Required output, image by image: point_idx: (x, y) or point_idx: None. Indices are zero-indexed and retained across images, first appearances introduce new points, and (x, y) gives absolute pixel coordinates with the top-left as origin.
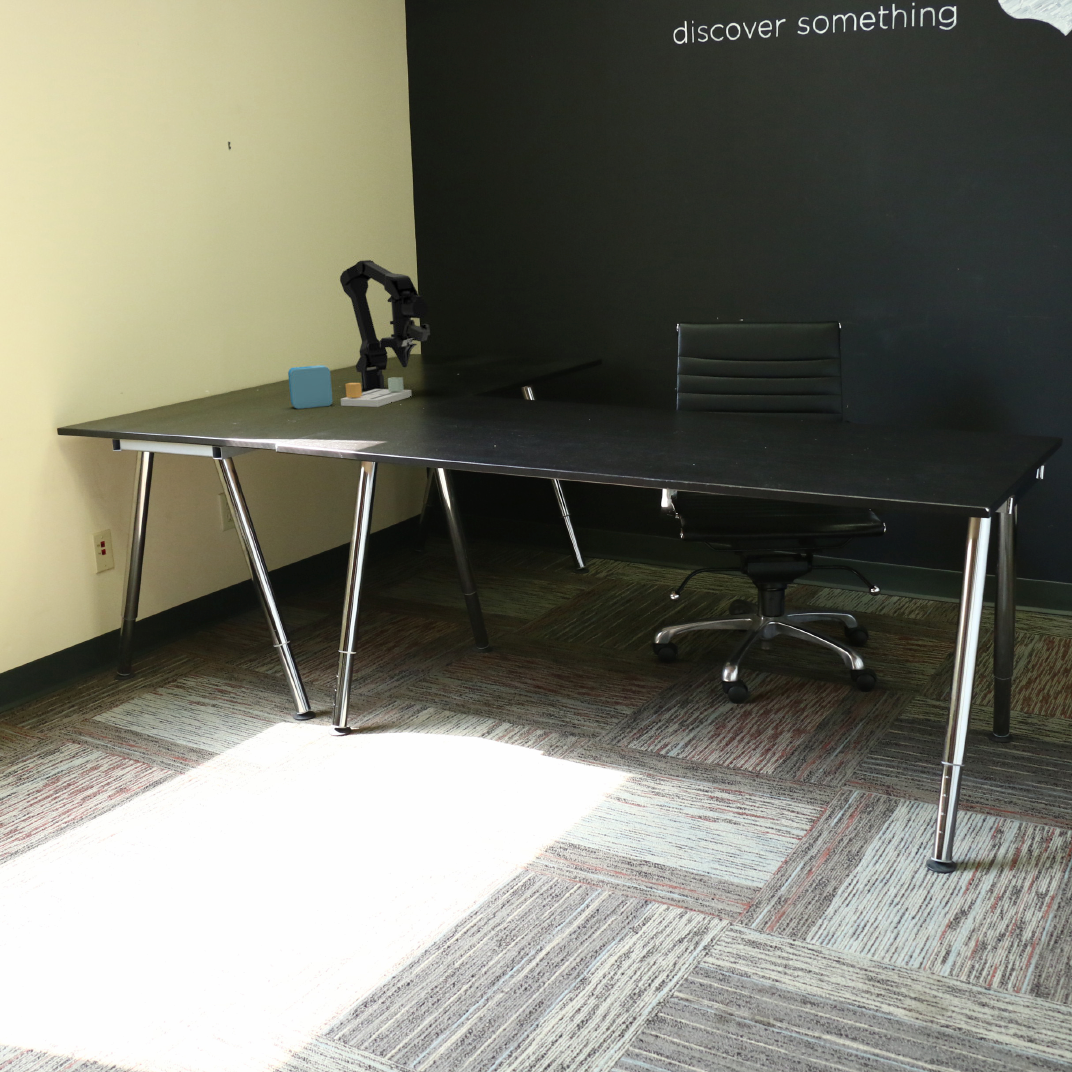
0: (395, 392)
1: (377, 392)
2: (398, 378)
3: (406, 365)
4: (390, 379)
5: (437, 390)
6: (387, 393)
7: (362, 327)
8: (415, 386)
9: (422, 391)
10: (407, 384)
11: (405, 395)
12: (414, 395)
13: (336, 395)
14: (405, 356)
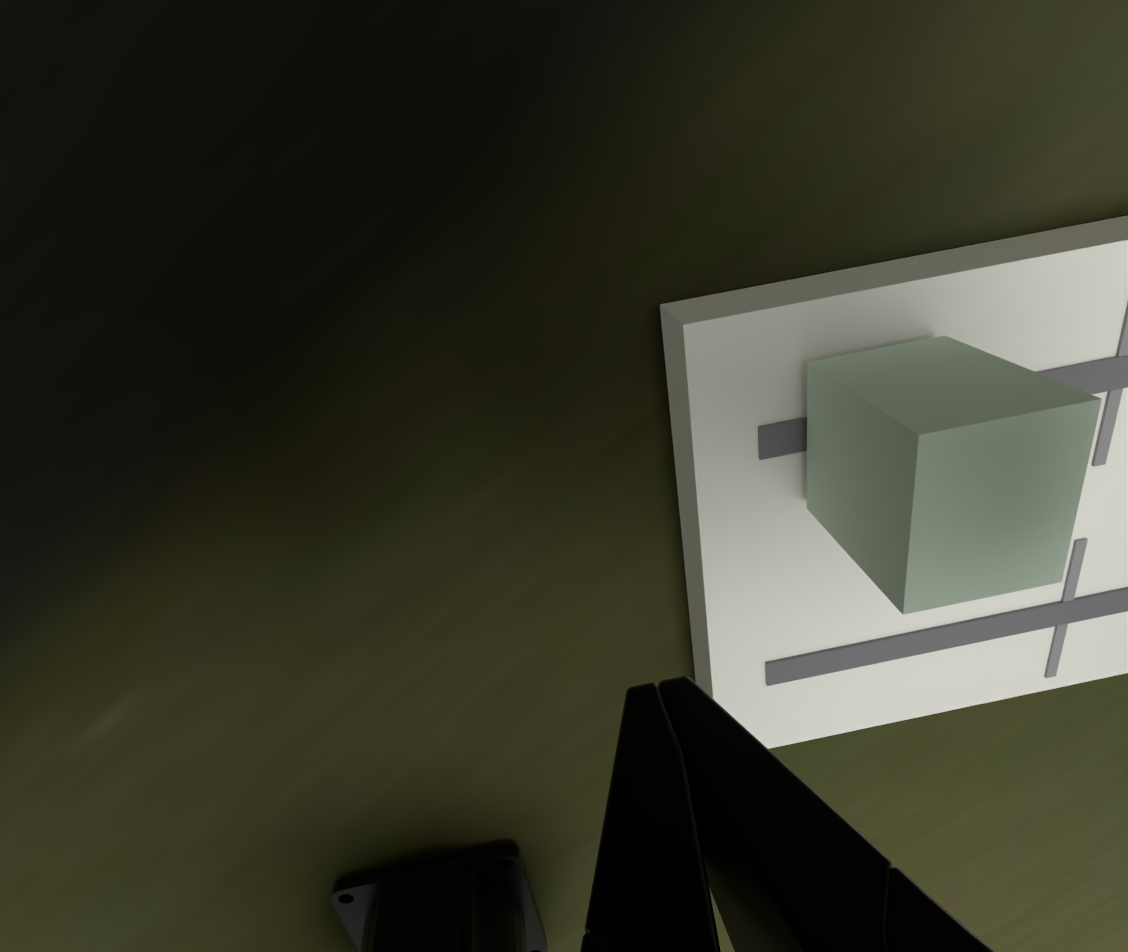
0: None
1: None
2: (1060, 413)
3: (675, 697)
4: (1061, 528)
5: (64, 308)
6: None
7: None
8: (42, 762)
9: (263, 451)
10: (13, 895)
11: (827, 281)
12: (576, 322)
13: None
14: (904, 894)
